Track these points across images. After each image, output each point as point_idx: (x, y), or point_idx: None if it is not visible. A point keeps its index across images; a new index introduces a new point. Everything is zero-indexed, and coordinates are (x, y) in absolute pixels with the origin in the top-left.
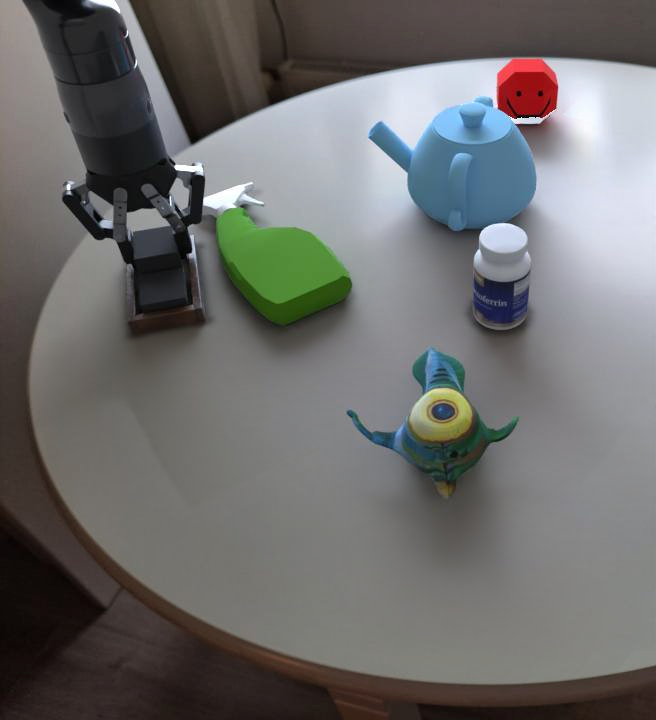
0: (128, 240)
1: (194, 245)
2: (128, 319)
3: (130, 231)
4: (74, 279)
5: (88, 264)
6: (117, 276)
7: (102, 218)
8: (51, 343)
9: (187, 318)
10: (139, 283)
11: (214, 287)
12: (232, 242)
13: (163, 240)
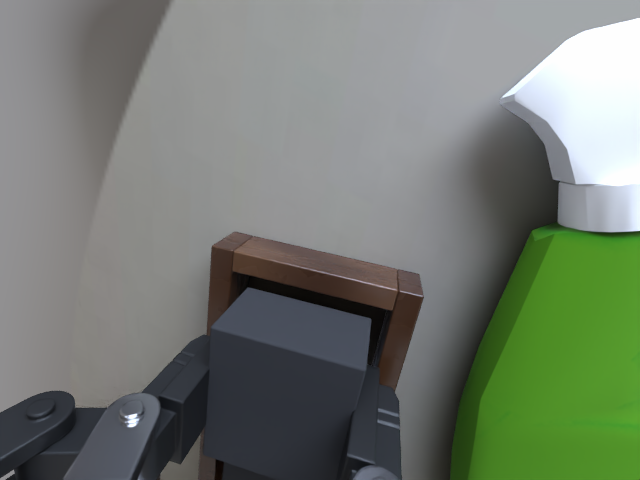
0: (175, 457)
1: (407, 349)
2: None
3: (185, 406)
4: (107, 244)
5: (134, 200)
6: (199, 283)
7: (35, 450)
8: (86, 402)
9: None
10: None
11: (403, 436)
12: (527, 448)
13: (302, 428)
